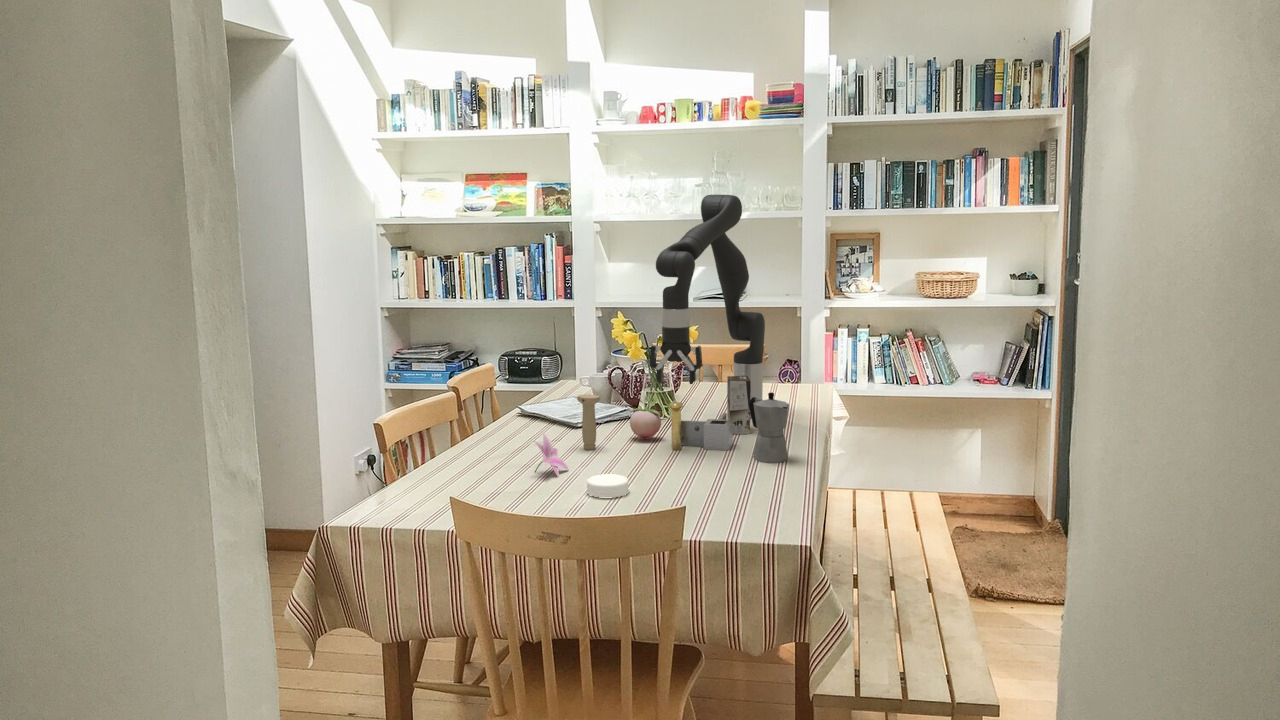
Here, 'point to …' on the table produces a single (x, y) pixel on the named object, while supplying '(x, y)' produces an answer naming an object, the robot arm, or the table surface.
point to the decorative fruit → (645, 422)
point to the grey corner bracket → (708, 433)
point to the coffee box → (739, 403)
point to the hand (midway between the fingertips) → (676, 383)
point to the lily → (550, 455)
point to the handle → (588, 419)
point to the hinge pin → (676, 424)
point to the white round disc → (607, 485)
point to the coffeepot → (769, 428)
